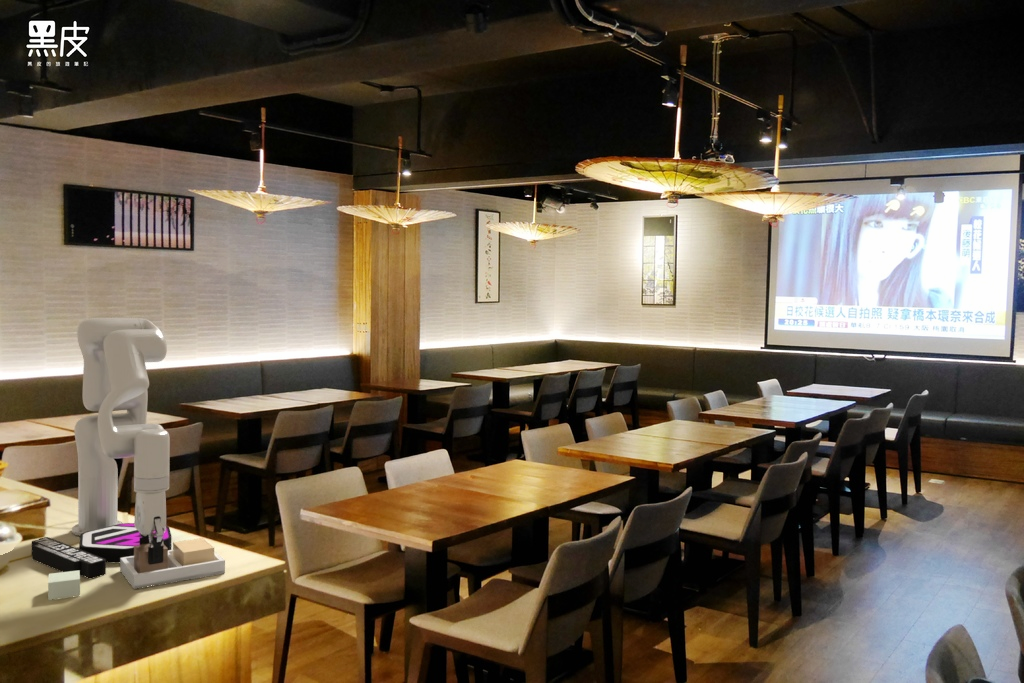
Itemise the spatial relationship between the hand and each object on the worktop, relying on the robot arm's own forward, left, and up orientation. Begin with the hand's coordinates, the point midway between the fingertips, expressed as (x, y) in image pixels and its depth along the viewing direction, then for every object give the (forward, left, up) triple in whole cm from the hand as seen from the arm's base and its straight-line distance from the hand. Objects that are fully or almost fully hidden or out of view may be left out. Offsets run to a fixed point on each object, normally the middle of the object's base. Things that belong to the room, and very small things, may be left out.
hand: (151, 557), depth 193 cm
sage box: (+2, -18, -5) cm, 19 cm away
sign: (-22, -4, -5) cm, 23 cm away
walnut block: (0, 0, -4) cm, 4 cm away
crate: (0, +5, -4) cm, 6 cm away
